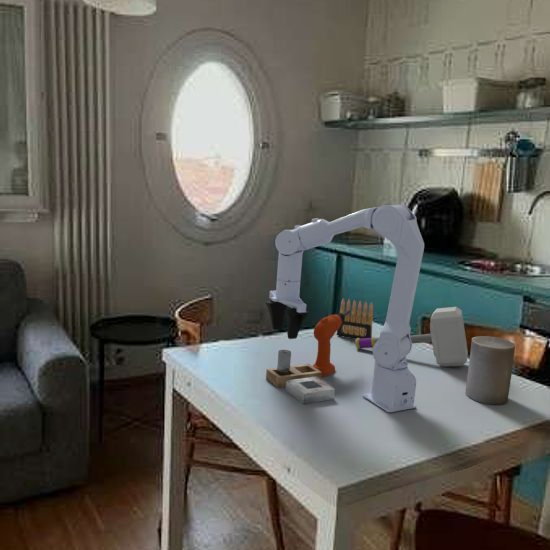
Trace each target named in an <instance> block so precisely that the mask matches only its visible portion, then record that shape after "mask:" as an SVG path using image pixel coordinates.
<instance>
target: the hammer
mask: <svg viewBox="0 0 550 550" xmlns="http://www.w3.org/2000/svg"><path fill="white" fill-rule="evenodd" d="M465 329H466V328H465V323H464V315H463V311H462V309H460V308H459V307H457V306H451V307H448V306H447V307H441V308H439V307H438V308H436V309H435V310H434V312H432V314H431V317H430V323H429V330H430V333H425V334H413V335H411V334H410V338H411V341H412V345H413V344H424V343H428V344H429V343H431V344H432V351H433V356H434V358H435V360H436V364H437V365H439V366H441V367H442V368H443V367H445V368H446V367H459V366H460V367H461V366H464V365H465V364H466V363H467V362H468V354H469V352H468V344H467V338H466V337H467V336H466V332H465V331H466V330H465ZM378 340H379V337H374V336H372V338H363V339H360V338H357V339H355V343H354V344H355V348H356V349H357V350H361V349H371V348H373V347H374V345H375V343H376V342H377V341H378Z"/></svg>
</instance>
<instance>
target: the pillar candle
mask: <svg viewBox="0 0 550 550" xmlns="http://www.w3.org/2000/svg"><path fill="white" fill-rule="evenodd" d="M515 350H516V344H515V343H514V342H512V341H510V340H508V339H505V338H502V337H497V336H488V335H487V336H485V335H484V336H483V335H481V336H474V337H472V338H471V344H470V350H469V351H470V353H469V354H470V355H469V361H468V369H467V377H466V384H465V385H466V386H465V395H466V396H467V397H468V398H470V399H471V400H473V401H475V402H478V403H480V404H485V405H495V406H497V405H498V406H499V405H504V404H507V403H508V402H509V396H510V395H509V394H510V388H511V379H512V373H513V368H514V367H513V366H514V360H515Z"/></svg>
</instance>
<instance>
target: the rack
mask: <svg viewBox="0 0 550 550" xmlns="http://www.w3.org/2000/svg"><path fill="white" fill-rule="evenodd" d="M265 373H266V374H265V379H266V380H267V381H268V380H269V381H268V382H270V383H271V384H272V383H273V384H272V385H273V386H275V387H276V386H277V387H279V388H286V387H285V386H286V381H287V380H294V379H301V378H309V377H317V378H319V379H320V380H322V377H323V376H322V372H321V371H319V370H318V369H316V368H315V367H313V364H312V365H311V364H310V363H306V364H298V365H290V374H289V375H284V376H280V375H278V374H277V367H274V368H266V371H265ZM277 387H276V388H277Z"/></svg>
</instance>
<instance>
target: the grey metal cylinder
mask: <svg viewBox="0 0 550 550" xmlns="http://www.w3.org/2000/svg"><path fill="white" fill-rule="evenodd" d="M277 353H278V354H277V367H276V368H277V374H278V375H280V376H284V375H289V374H290V366H291V357H292V351H291V350H289V349H279V350H278V352H277Z"/></svg>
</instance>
